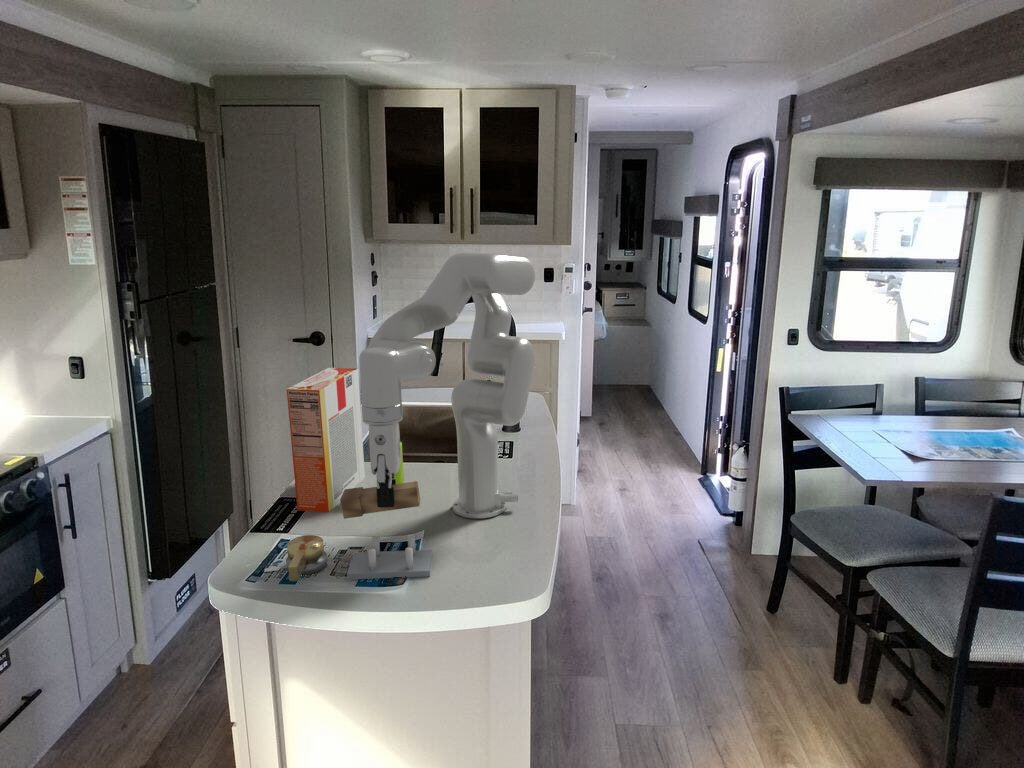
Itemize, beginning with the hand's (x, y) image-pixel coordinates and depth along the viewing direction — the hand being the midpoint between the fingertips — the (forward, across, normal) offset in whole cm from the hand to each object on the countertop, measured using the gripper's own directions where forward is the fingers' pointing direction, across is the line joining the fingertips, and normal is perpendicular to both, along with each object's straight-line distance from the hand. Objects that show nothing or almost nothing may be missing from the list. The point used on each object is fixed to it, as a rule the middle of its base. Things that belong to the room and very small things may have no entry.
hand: (387, 501), depth 141 cm
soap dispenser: (+14, +39, +4) cm, 41 cm away
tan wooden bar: (+1, 0, +1) cm, 2 cm away
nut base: (+14, +2, +19) cm, 24 cm away
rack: (+14, 0, 0) cm, 14 cm away
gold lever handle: (+12, -2, +17) cm, 21 cm away
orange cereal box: (+14, +41, +19) cm, 47 cm away
